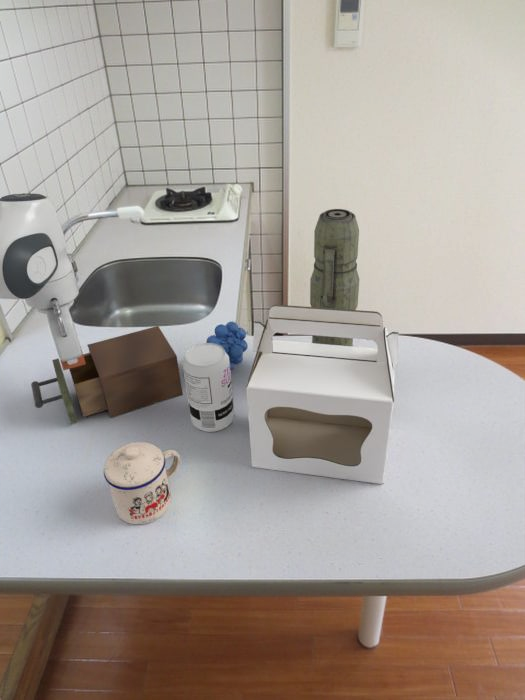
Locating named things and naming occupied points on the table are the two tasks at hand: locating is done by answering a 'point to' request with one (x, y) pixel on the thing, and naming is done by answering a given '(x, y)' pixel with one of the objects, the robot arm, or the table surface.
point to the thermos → (335, 267)
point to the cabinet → (136, 370)
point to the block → (79, 363)
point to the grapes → (230, 341)
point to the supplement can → (208, 387)
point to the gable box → (322, 394)
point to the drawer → (84, 385)
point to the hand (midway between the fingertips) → (70, 354)
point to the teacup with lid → (140, 481)
